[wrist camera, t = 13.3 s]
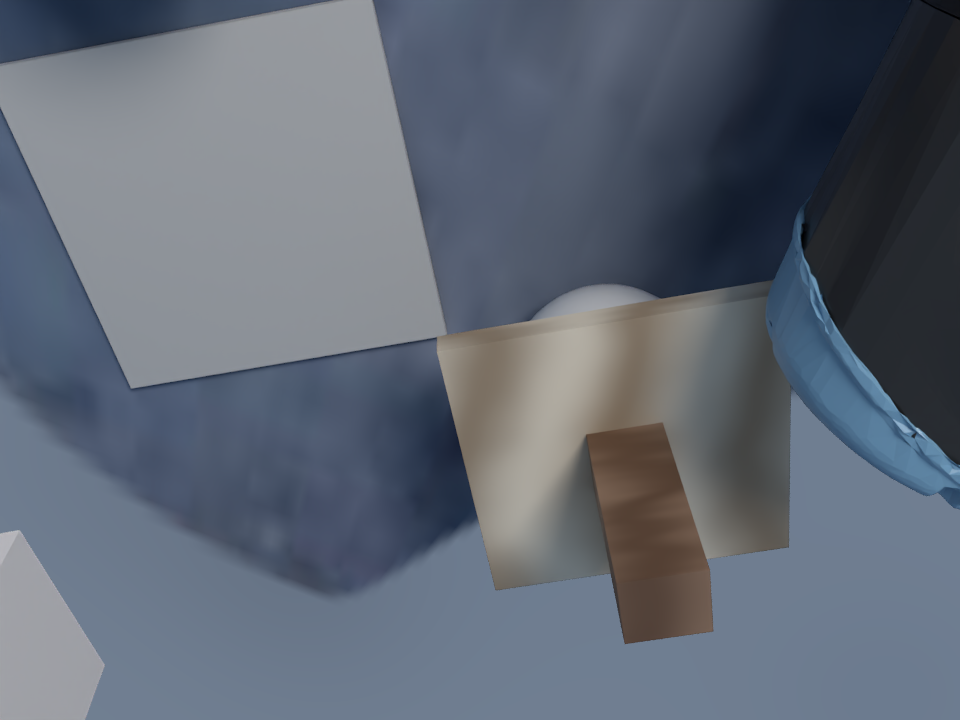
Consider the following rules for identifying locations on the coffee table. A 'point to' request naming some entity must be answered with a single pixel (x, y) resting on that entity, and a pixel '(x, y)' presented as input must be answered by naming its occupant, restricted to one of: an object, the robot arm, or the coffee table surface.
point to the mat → (232, 190)
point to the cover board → (617, 390)
